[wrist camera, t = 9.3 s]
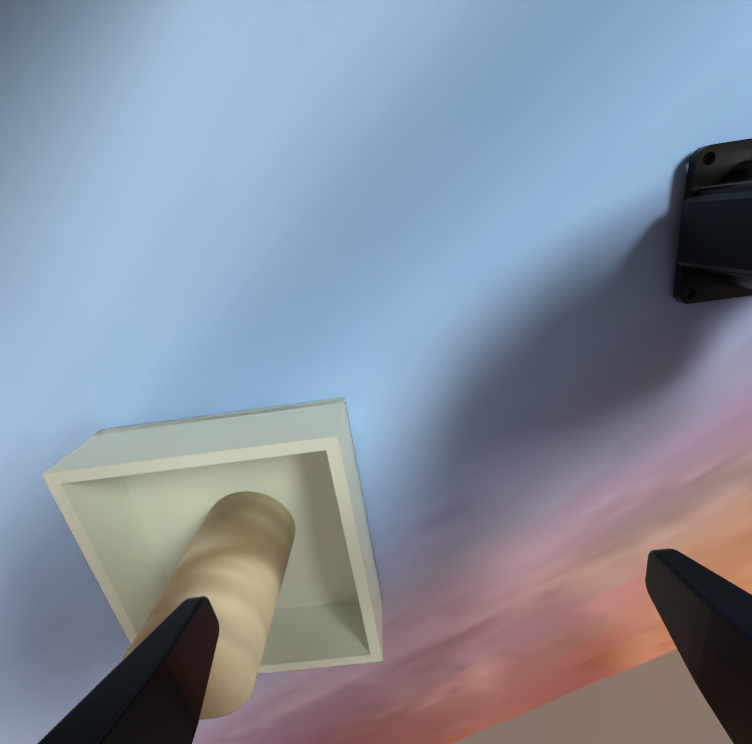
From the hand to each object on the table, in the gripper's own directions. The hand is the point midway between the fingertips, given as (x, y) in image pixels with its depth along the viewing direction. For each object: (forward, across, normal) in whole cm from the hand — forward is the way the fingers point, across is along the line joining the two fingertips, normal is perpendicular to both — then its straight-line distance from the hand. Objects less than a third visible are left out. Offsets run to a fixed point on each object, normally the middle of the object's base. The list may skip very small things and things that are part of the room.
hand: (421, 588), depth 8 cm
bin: (+12, +10, +8) cm, 18 cm away
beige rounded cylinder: (+12, +10, +8) cm, 17 cm away
